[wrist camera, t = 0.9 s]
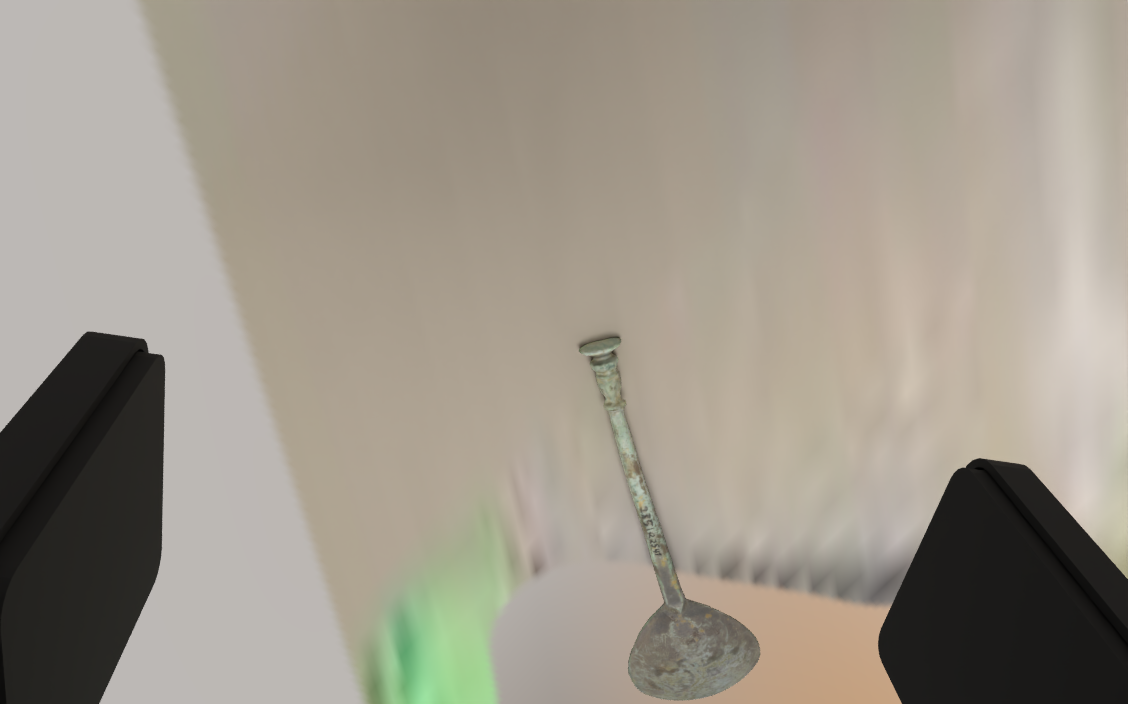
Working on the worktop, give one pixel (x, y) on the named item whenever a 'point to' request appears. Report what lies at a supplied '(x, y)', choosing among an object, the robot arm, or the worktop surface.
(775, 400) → the worktop surface
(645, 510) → the soupspoon
